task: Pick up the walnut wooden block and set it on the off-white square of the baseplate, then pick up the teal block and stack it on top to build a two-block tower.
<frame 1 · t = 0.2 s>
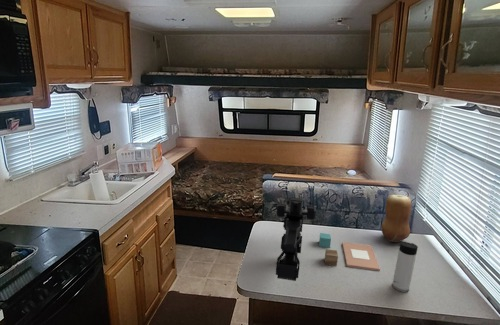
hand: (296, 206, 163), 16 cm above the table, tool horizontal, fingers open, 9 cm apart
butternut squash: (393, 240, 166), on the table
travel mug: (400, 287, 129), on the table
baseplate: (359, 256, 150), on the table
teal block: (324, 244, 159), on the table
walnut block: (330, 262, 144), on the table
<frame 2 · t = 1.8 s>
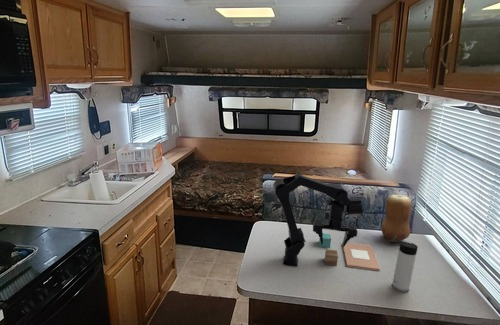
hand: (332, 245, 142), 8 cm above the table, tool pointing down, fingers open, 9 cm apart
nothing on the table moved.
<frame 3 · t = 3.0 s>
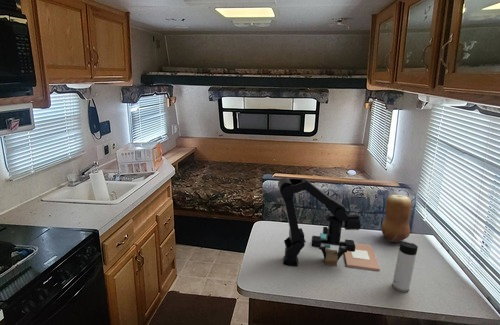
hand: (330, 260, 144), 1 cm above the table, tool pointing down, fingers closed on walnut block, 5 cm apart
walnut block: (330, 262, 144), on the table, touching gripper
everything else where it was.
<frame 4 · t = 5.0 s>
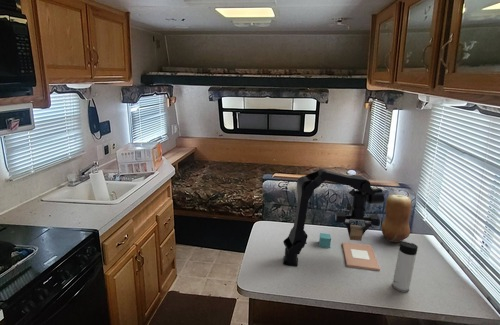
hand: (355, 235, 145), 12 cm above the table, tool pointing down, fingers closed on walnut block, 5 cm apart
walnut block: (354, 237, 145), point 11 cm above the table, touching gripper
everything else where it was.
when the fingers open (3 cm above the table, at t = 7.2 s): walnut block drops 1 cm, resting on baseplate.
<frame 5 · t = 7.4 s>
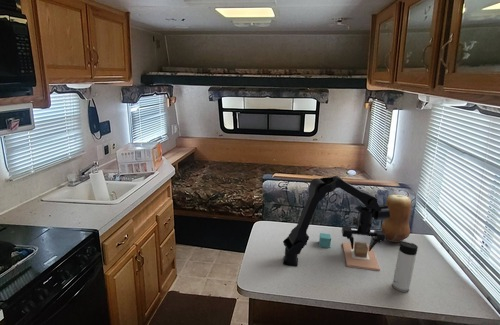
hand: (360, 249, 149), 3 cm above the table, tool pointing down, fingers open, 7 cm apart
walnut block: (359, 254, 150), point 1 cm above the table, touching baseplate
everything else where it was.
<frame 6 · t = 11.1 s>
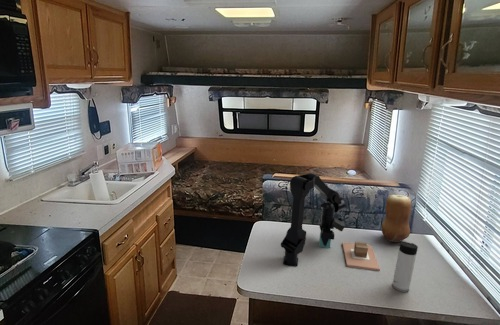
hand: (324, 242, 159), 1 cm above the table, tool pointing down, fingers closed on teal block, 5 cm apart
teal block: (324, 244, 159), on the table, touching gripper
everything else where it was.
when the fingers open (8 cm above the table, at t = 14.6 s): teal block drops 1 cm, resting on walnut block.
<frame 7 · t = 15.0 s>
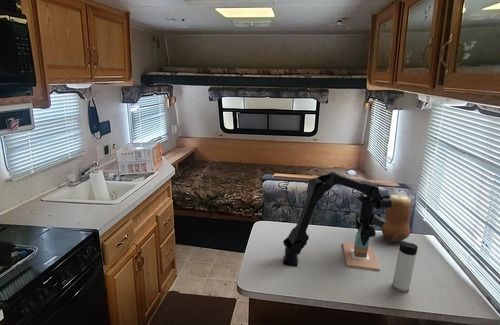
hand: (362, 240, 148), 8 cm above the table, tool pointing down, fingers open, 9 cm apart
teal block: (361, 244, 148), point 6 cm above the table, touching walnut block
walnut block: (360, 254, 150), point 1 cm above the table, touching baseplate, teal block
everything else where it was.
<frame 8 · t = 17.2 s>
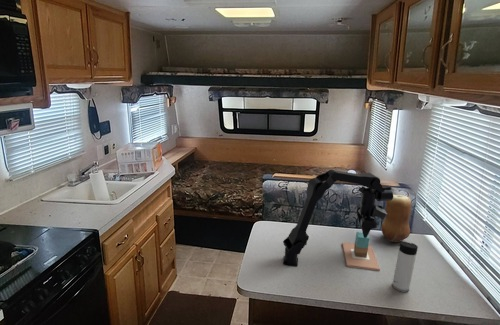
hand: (363, 232, 146), 12 cm above the table, tool pointing down, fingers open, 9 cm apart
nothing on the table moved.
at the end: walnut block 0.0 cm off-centre on the baseplate, point 1.2 cm above the baseplate's base; teal block 0.0 cm off-centre on the walnut block, point 5.0 cm above the walnut block's base; teal block tilted 0° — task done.
